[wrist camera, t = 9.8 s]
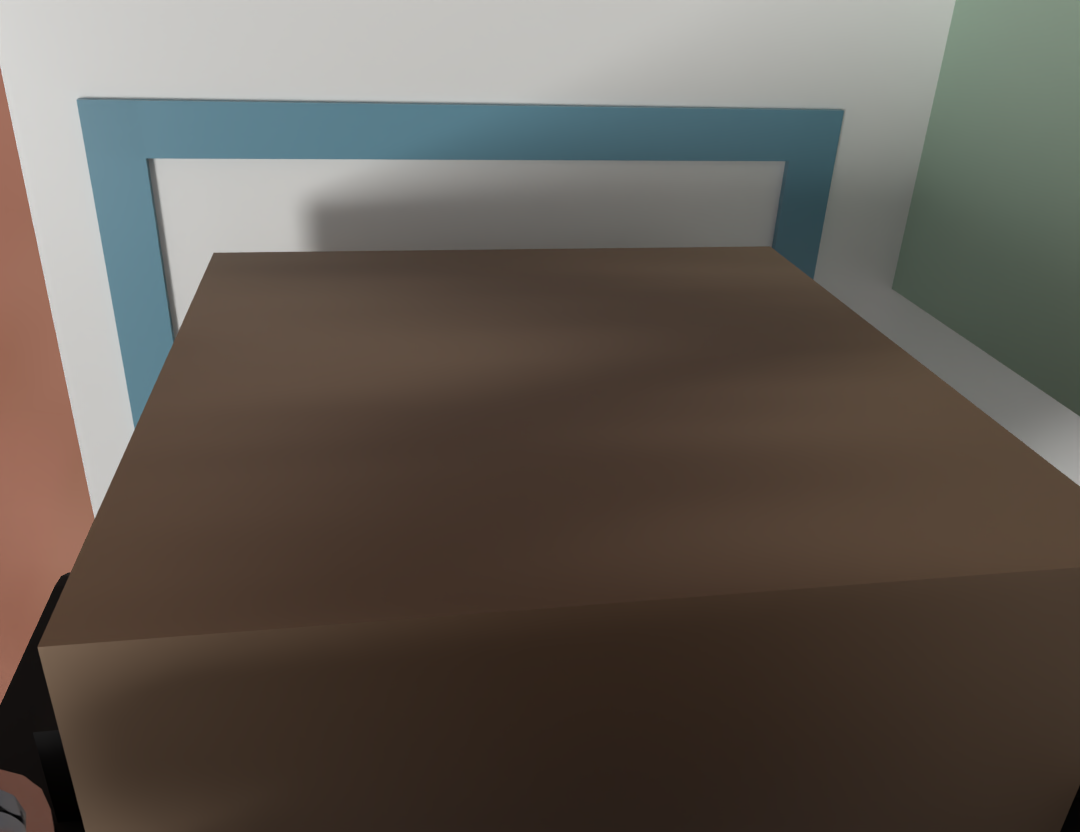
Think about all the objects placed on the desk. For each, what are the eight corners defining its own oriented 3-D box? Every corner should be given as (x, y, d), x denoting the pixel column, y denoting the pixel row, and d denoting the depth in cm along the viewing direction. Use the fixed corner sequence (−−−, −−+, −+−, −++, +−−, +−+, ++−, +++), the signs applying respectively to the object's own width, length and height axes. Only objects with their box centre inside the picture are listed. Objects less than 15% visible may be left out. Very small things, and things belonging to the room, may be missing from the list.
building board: (1819, -125, 13) (1934, -128, 12) (1356, 683, 20) (1406, 721, 19) (-31, -262, 9) (-76, -283, 8) (176, 810, 16) (165, 867, 15)
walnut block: (769, 247, 11) (1175, 560, 5) (705, 658, 13) (931, 1133, 8) (213, 252, 10) (37, 648, 4) (267, 697, 12) (199, 1270, 7)
